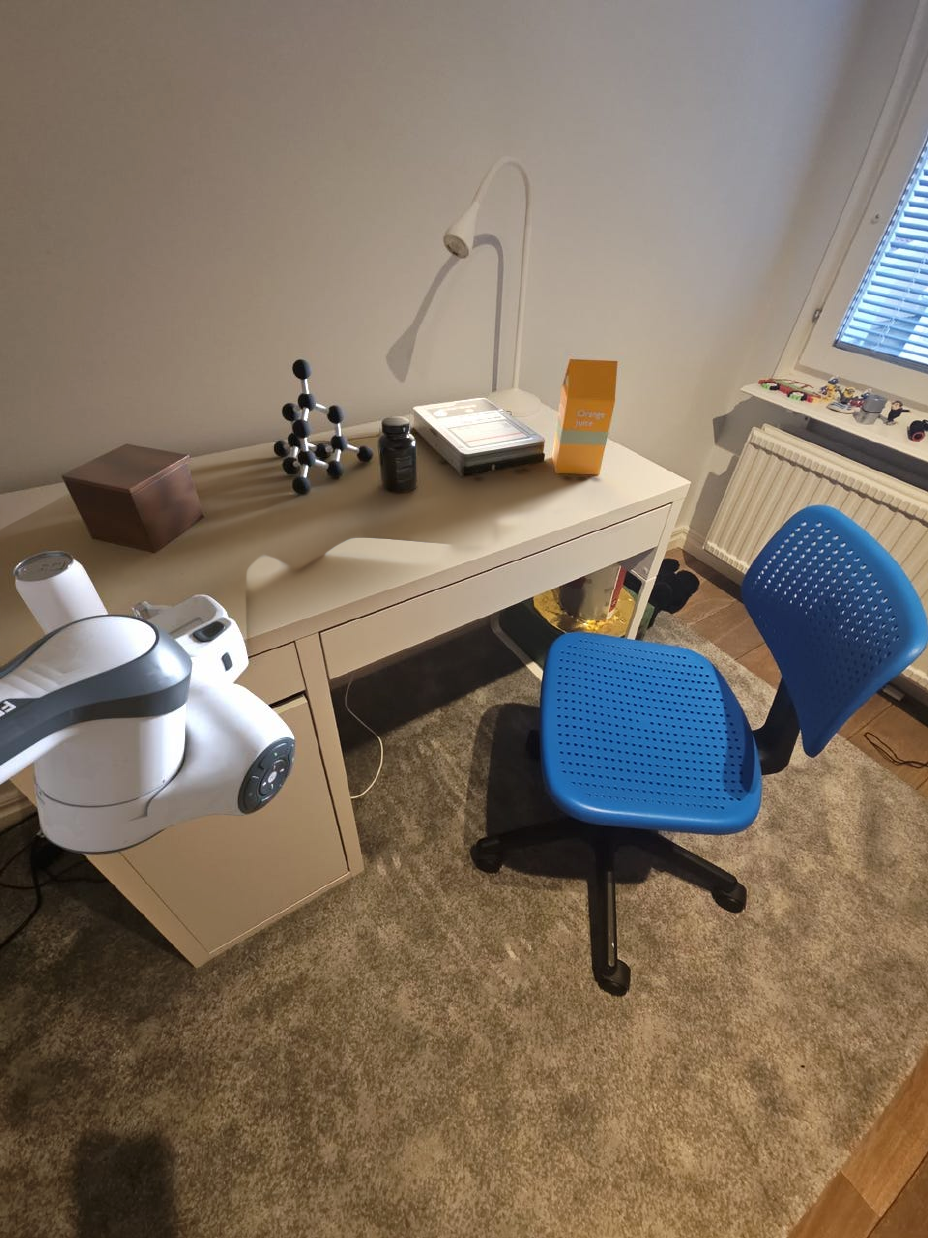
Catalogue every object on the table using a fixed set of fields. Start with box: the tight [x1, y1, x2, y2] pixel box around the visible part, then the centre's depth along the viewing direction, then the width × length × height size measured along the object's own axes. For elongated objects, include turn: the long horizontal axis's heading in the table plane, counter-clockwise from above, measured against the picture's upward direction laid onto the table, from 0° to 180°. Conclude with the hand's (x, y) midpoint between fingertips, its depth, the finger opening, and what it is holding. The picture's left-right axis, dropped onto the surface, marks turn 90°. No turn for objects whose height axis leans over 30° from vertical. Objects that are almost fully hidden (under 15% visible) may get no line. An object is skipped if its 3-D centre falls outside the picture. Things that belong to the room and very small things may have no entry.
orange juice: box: [551, 358, 618, 475], centre depth 103 cm, size 8×9×20 cm
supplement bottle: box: [376, 416, 418, 494], centre depth 96 cm, size 7×7×12 cm
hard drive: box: [412, 397, 546, 478], centre depth 115 cm, size 18×27×4 cm
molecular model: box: [273, 358, 374, 496], centre depth 98 cm, size 18×20×20 cm
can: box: [12, 550, 109, 636], centre depth 62 cm, size 6×6×12 cm
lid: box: [61, 443, 191, 494], centre depth 80 cm, size 12×12×1 cm
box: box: [63, 461, 205, 554], centre depth 84 cm, size 11×12×10 cm
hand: (97, 629), depth 59 cm, fingers open, 8 cm apart
